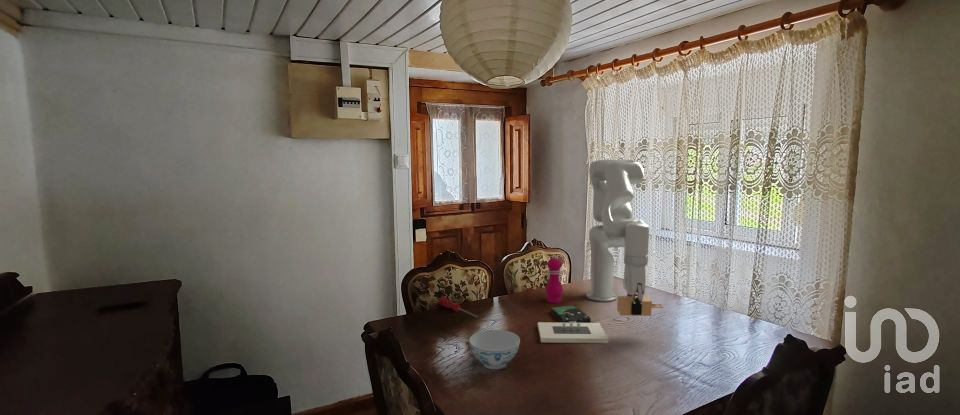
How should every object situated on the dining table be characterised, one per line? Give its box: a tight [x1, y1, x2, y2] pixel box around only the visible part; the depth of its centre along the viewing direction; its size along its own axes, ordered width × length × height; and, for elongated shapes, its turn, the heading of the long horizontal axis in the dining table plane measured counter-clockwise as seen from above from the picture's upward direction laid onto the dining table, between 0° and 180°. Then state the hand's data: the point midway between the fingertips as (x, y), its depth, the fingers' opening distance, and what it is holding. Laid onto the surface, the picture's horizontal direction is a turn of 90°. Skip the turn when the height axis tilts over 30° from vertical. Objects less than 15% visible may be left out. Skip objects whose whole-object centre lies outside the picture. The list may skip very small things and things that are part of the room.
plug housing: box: [616, 295, 664, 317], centre depth 152 cm, size 5×14×5 cm, turn 87°
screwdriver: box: [438, 296, 479, 318], centre depth 178 cm, size 4×25×4 cm, turn 38°
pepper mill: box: [545, 254, 564, 304], centre depth 189 cm, size 7×7×20 cm
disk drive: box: [550, 305, 592, 323], centre depth 170 cm, size 10×3×15 cm
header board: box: [537, 321, 609, 344], centre depth 155 cm, size 14×22×4 cm, turn 87°
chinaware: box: [468, 329, 521, 370], centre depth 133 cm, size 15×15×8 cm
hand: (633, 310), depth 152 cm, fingers closed on plug housing, 5 cm apart
